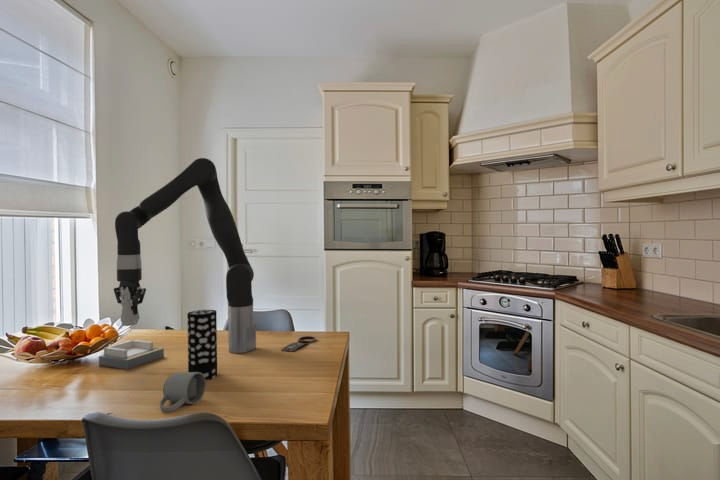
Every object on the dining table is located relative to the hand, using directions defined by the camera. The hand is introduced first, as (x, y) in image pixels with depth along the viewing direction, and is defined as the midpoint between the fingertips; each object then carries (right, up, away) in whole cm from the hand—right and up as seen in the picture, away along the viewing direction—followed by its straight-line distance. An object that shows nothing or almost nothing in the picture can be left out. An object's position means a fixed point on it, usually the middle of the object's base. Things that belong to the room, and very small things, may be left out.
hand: (130, 315), depth 132 cm
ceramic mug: (+36, -16, -36) cm, 53 cm away
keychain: (+58, -16, +17) cm, 62 cm away
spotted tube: (+33, -16, -17) cm, 41 cm away
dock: (+1, -16, 0) cm, 16 cm away
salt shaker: (0, -3, 0) cm, 3 cm away
